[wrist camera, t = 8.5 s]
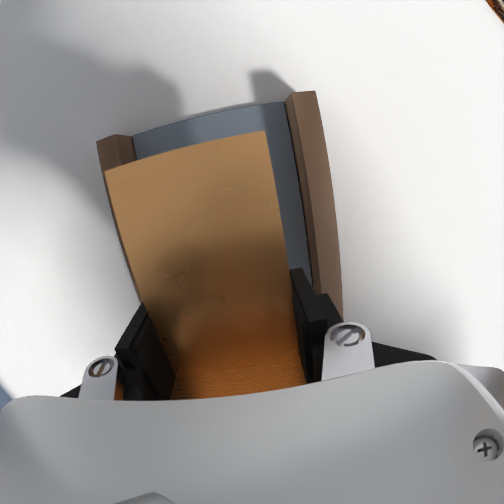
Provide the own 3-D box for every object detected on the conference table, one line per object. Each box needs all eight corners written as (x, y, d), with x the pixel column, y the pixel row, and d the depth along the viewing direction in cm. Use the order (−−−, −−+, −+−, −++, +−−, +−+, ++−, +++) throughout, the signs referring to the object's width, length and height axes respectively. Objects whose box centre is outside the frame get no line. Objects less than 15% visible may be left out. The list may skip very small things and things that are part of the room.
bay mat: (282, 102, 14) (283, 101, 14) (316, 341, 19) (317, 344, 19) (134, 136, 15) (131, 135, 14) (198, 360, 20) (197, 364, 19)
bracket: (294, 349, 14) (323, 470, 7) (198, 364, 14) (179, 482, 7) (259, 137, 10) (285, 105, 4) (137, 166, 10) (18, 189, 4)
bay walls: (304, 99, 14) (315, 90, 12) (333, 337, 19) (343, 358, 17) (115, 142, 15) (96, 141, 12) (182, 362, 20) (176, 384, 17)
